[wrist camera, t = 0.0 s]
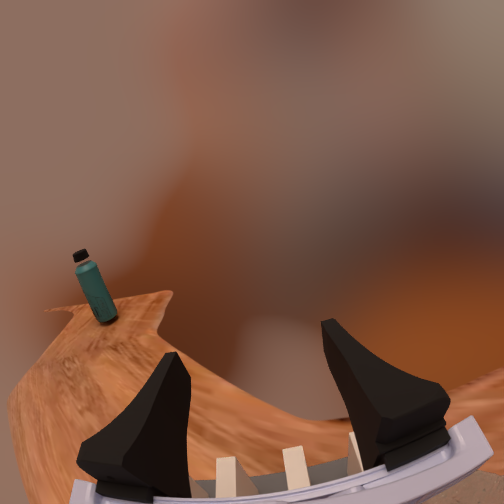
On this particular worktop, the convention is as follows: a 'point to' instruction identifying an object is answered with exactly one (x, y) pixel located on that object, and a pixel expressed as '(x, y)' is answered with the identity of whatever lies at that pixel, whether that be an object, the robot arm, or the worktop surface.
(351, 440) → the ivory domino
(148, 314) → the worktop surface
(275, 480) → the mat
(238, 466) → the ivory domino
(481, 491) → the brick
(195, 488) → the ivory domino
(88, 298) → the beverage bottle
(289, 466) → the ivory domino
